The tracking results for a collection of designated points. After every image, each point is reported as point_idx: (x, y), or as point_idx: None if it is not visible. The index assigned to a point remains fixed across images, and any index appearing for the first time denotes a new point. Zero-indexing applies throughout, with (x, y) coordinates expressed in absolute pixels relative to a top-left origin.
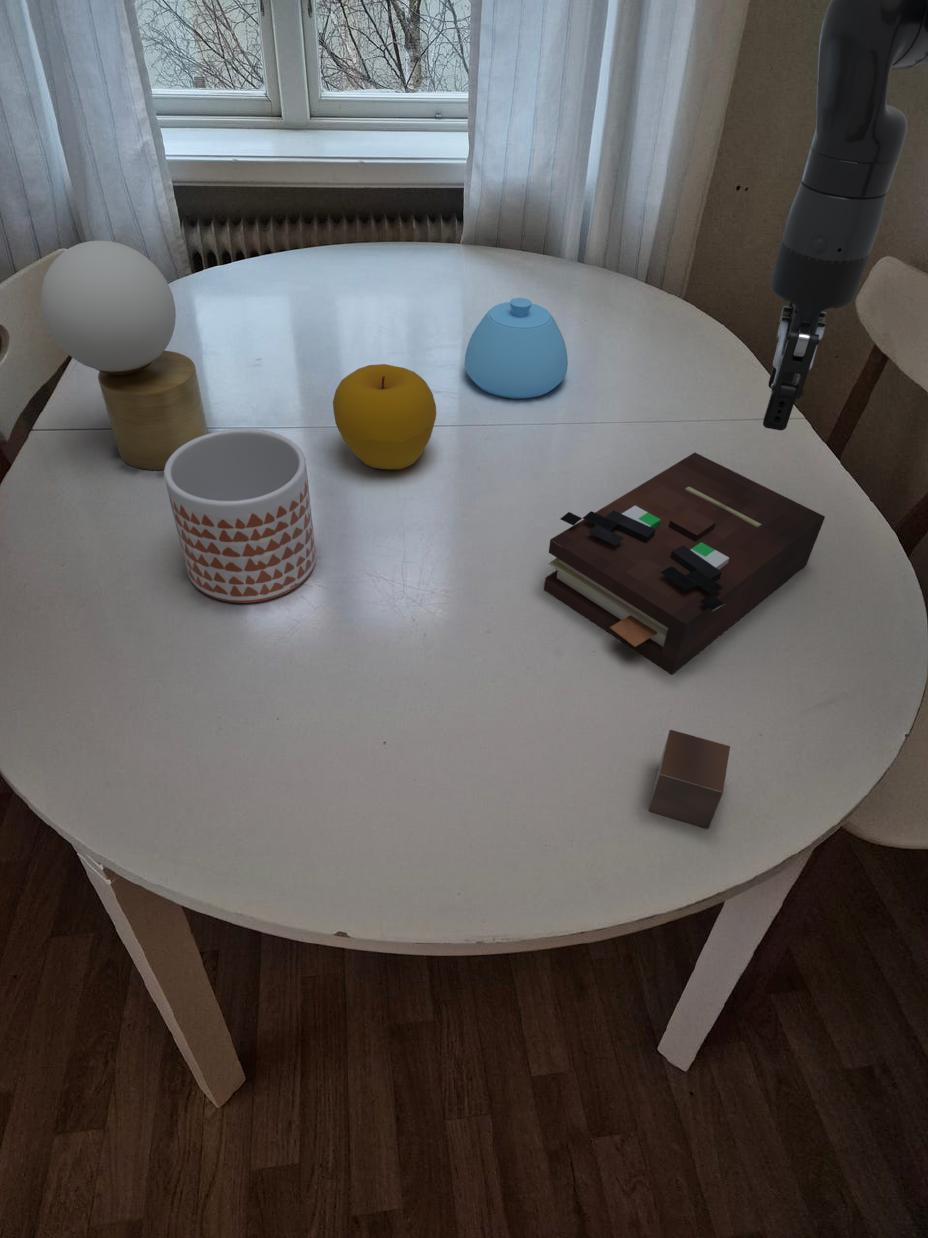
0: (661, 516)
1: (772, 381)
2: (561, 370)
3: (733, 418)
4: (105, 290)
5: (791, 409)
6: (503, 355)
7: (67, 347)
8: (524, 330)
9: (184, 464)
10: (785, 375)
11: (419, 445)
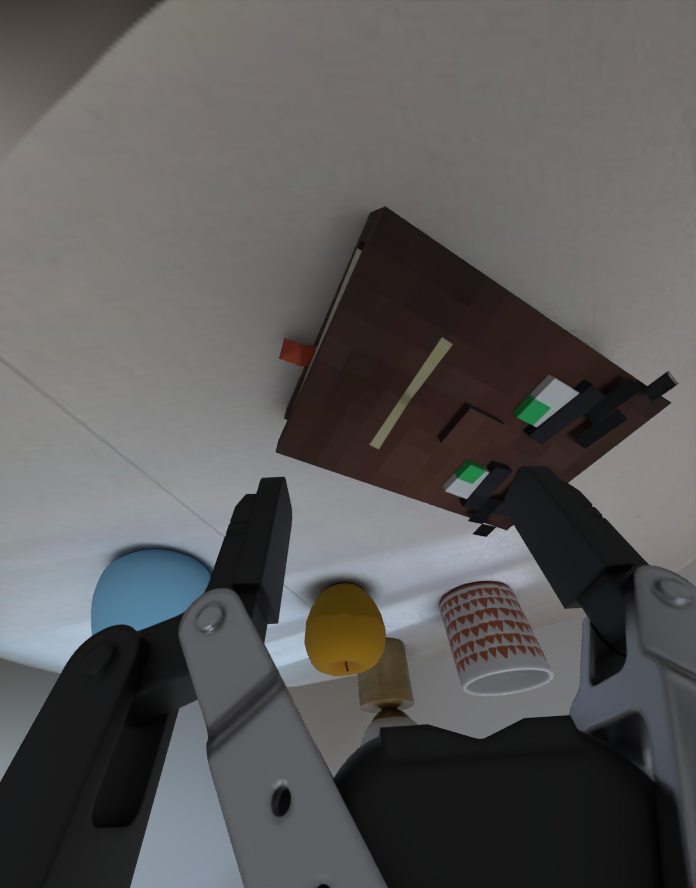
0: (449, 460)
1: (289, 526)
2: (148, 567)
3: (21, 380)
4: None
5: (593, 517)
6: None
7: None
8: None
9: (490, 682)
10: (280, 528)
11: (358, 603)
